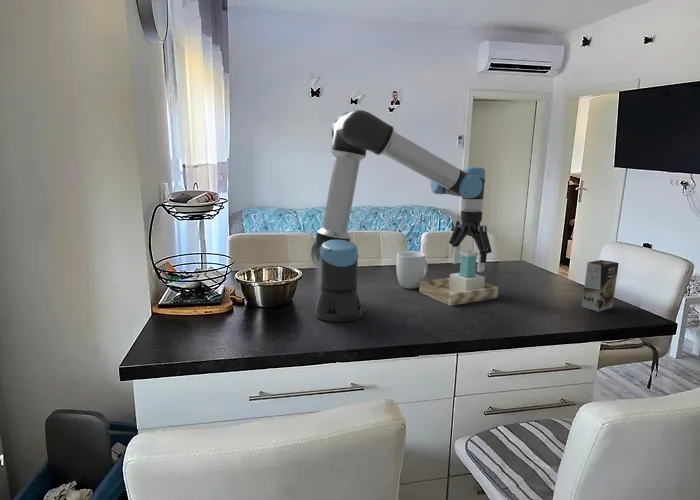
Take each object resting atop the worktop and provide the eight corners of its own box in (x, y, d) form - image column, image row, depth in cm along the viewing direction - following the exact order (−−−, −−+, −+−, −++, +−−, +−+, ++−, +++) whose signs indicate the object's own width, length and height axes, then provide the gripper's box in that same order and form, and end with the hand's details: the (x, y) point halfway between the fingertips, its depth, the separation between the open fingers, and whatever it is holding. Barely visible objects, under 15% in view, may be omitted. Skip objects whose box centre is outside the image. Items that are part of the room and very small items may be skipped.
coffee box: (599, 312, 159) (605, 265, 156) (581, 307, 165) (586, 261, 161) (613, 307, 164) (619, 262, 161) (595, 302, 169) (601, 258, 166)
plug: (466, 285, 174) (468, 253, 172) (458, 282, 178) (460, 251, 176) (475, 284, 176) (477, 252, 174) (467, 281, 180) (469, 250, 178)
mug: (415, 280, 196) (417, 249, 194) (436, 285, 188) (437, 253, 185) (389, 285, 187) (390, 253, 184) (410, 292, 179) (411, 258, 176)
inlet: (465, 295, 172) (466, 279, 171) (449, 289, 180) (450, 274, 178) (483, 292, 176) (485, 277, 175) (467, 286, 184) (468, 271, 183)
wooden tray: (450, 305, 163) (450, 294, 163) (419, 292, 179) (419, 281, 178) (497, 297, 173) (498, 287, 173) (464, 285, 189) (465, 275, 188)
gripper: (505, 213, 163) (500, 273, 167) (457, 206, 184) (454, 259, 188) (488, 214, 159) (484, 275, 163) (441, 206, 181) (438, 261, 185)
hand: (467, 267), depth 176 cm, fingers open, 13 cm apart
